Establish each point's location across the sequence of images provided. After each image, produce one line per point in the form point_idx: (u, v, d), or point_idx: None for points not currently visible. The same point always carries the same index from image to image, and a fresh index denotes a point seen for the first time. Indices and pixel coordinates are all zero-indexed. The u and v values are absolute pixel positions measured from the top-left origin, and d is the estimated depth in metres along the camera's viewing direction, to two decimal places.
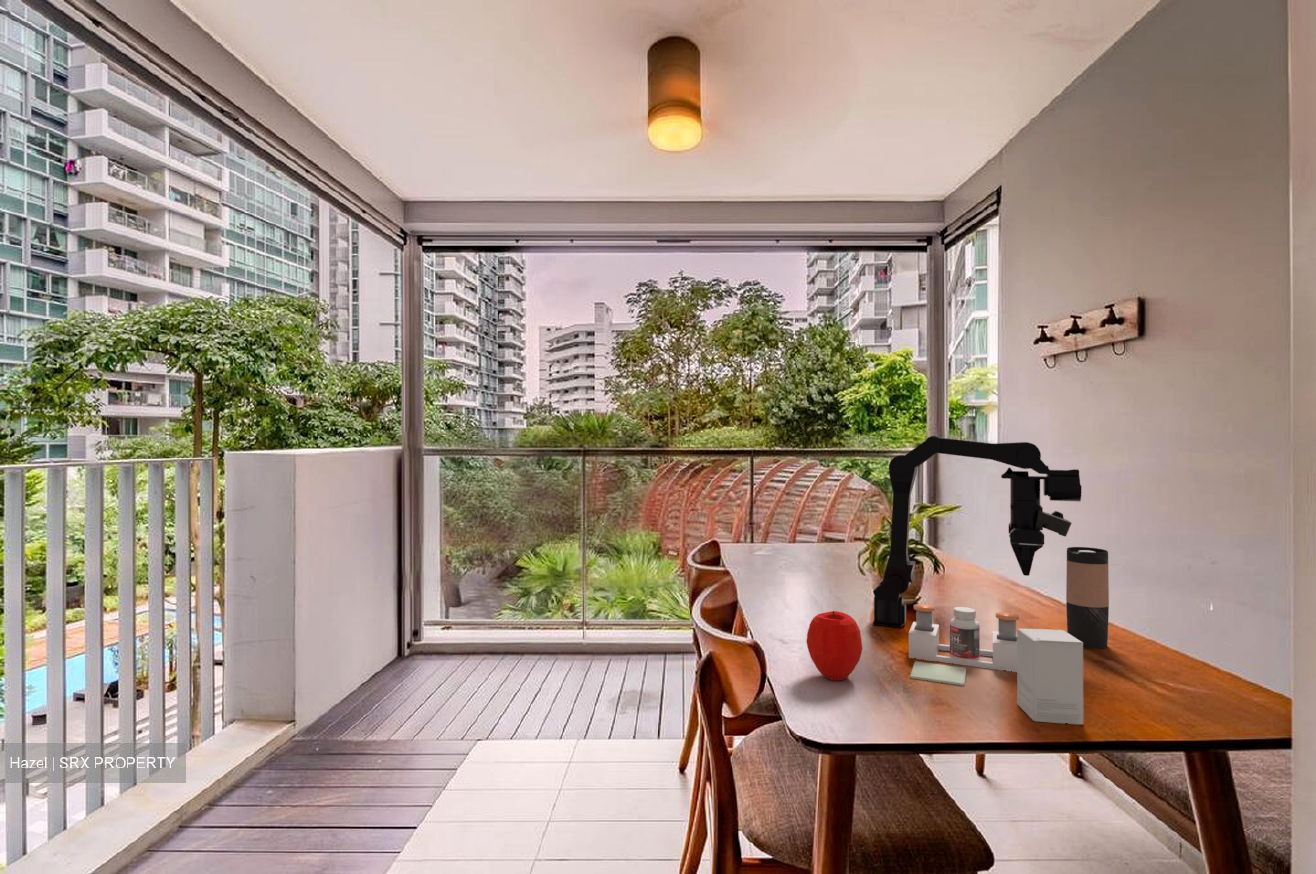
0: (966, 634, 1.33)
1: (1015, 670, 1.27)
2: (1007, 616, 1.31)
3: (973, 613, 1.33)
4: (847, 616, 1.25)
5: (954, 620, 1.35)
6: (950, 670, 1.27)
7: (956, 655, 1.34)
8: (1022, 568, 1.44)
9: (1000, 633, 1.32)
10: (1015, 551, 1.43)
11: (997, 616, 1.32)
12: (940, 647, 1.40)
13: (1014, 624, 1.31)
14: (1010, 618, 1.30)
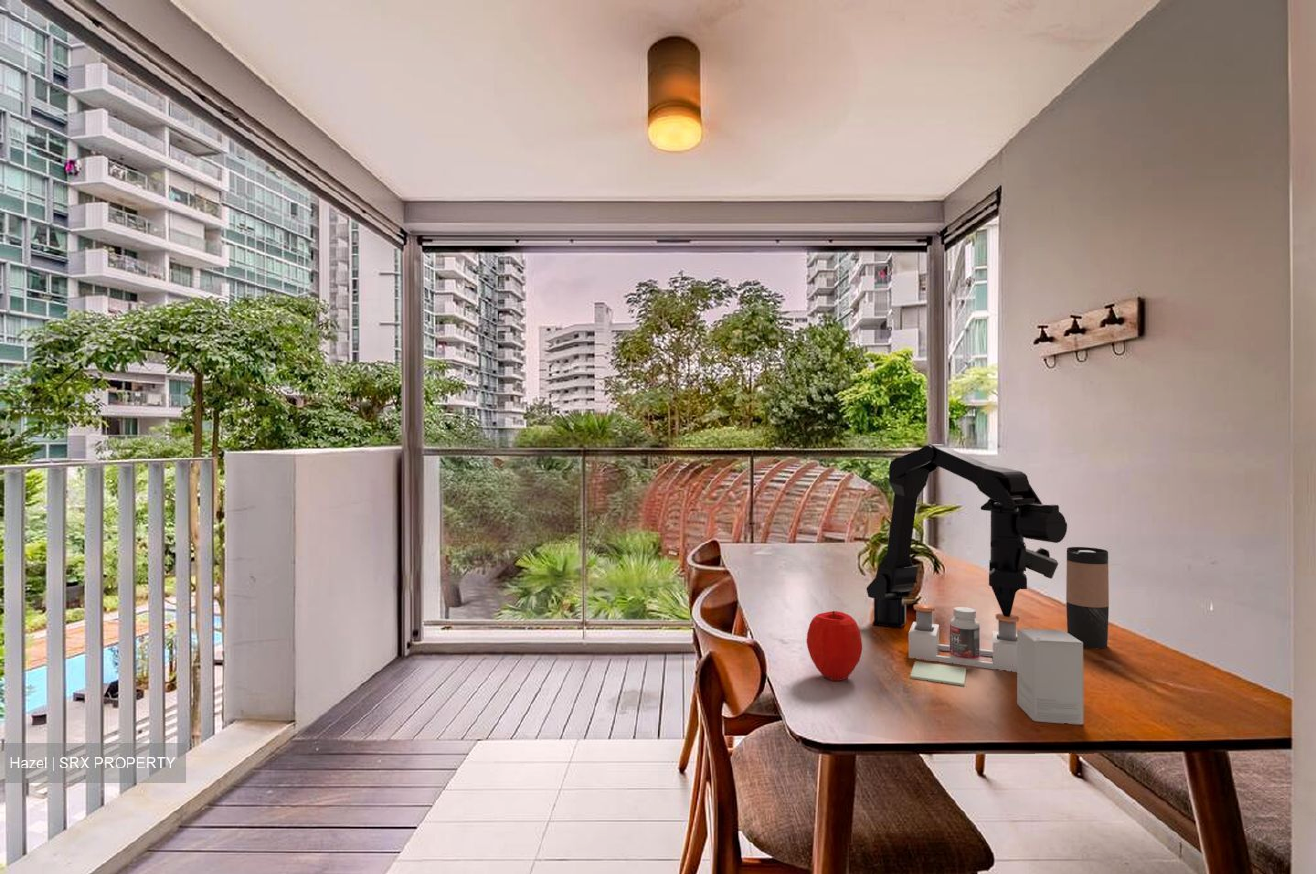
0: (966, 634, 1.33)
1: (1015, 670, 1.27)
2: (1007, 618, 1.31)
3: (973, 613, 1.33)
4: (847, 616, 1.25)
5: (954, 620, 1.35)
6: (950, 670, 1.27)
7: (956, 655, 1.34)
8: (1002, 609, 1.31)
9: (1000, 635, 1.32)
10: (995, 590, 1.31)
11: (997, 618, 1.32)
12: (940, 647, 1.40)
13: (1014, 626, 1.31)
14: (1010, 620, 1.30)
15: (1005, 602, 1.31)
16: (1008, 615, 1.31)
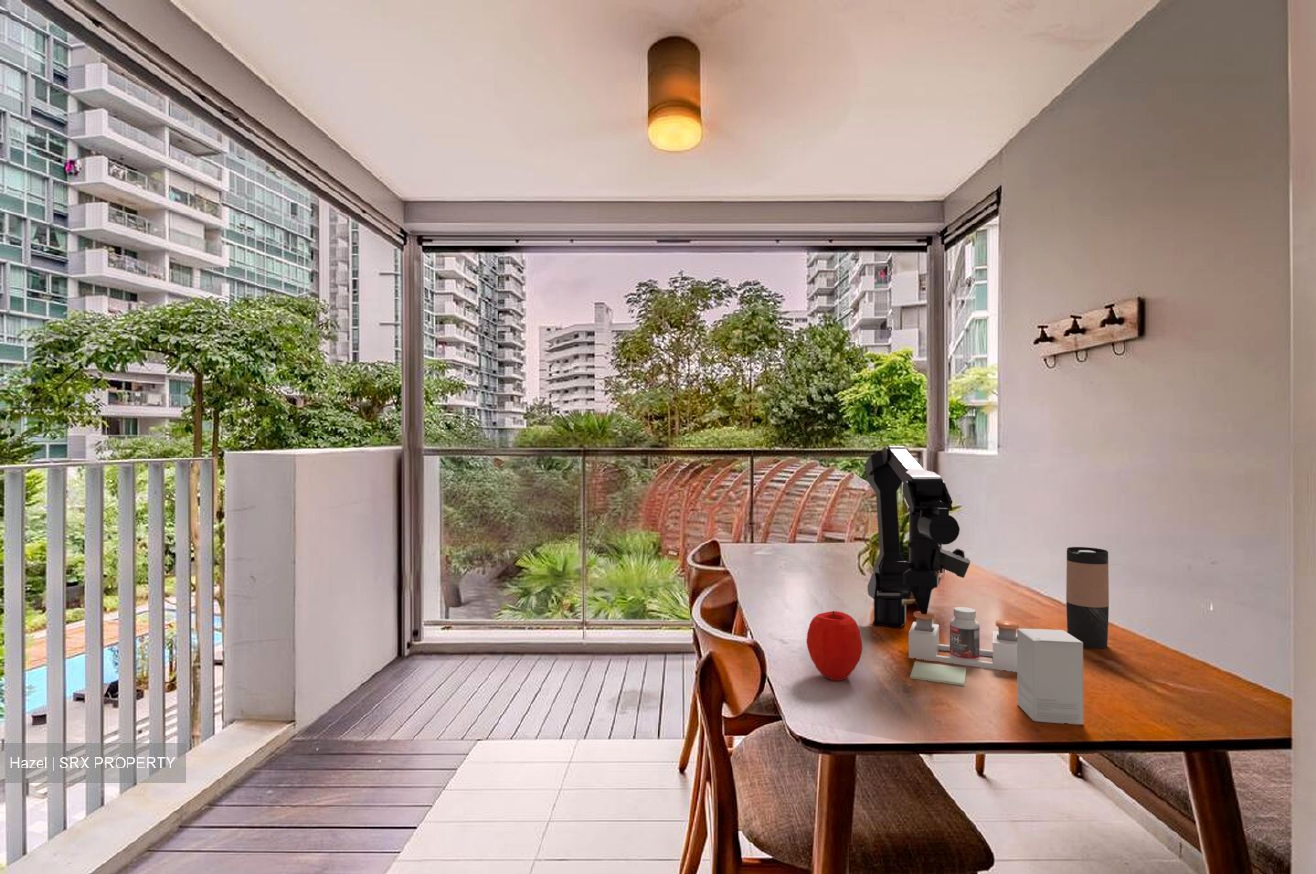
0: (966, 634, 1.33)
1: (1015, 670, 1.27)
2: (1007, 625, 1.31)
3: (973, 613, 1.33)
4: (847, 616, 1.25)
5: (954, 620, 1.35)
6: (950, 670, 1.27)
7: (956, 655, 1.34)
8: (919, 606, 1.38)
9: None
10: (912, 589, 1.38)
11: (997, 624, 1.32)
12: (940, 647, 1.40)
13: (1014, 633, 1.31)
14: (1010, 627, 1.30)
15: (922, 600, 1.38)
16: (925, 612, 1.38)
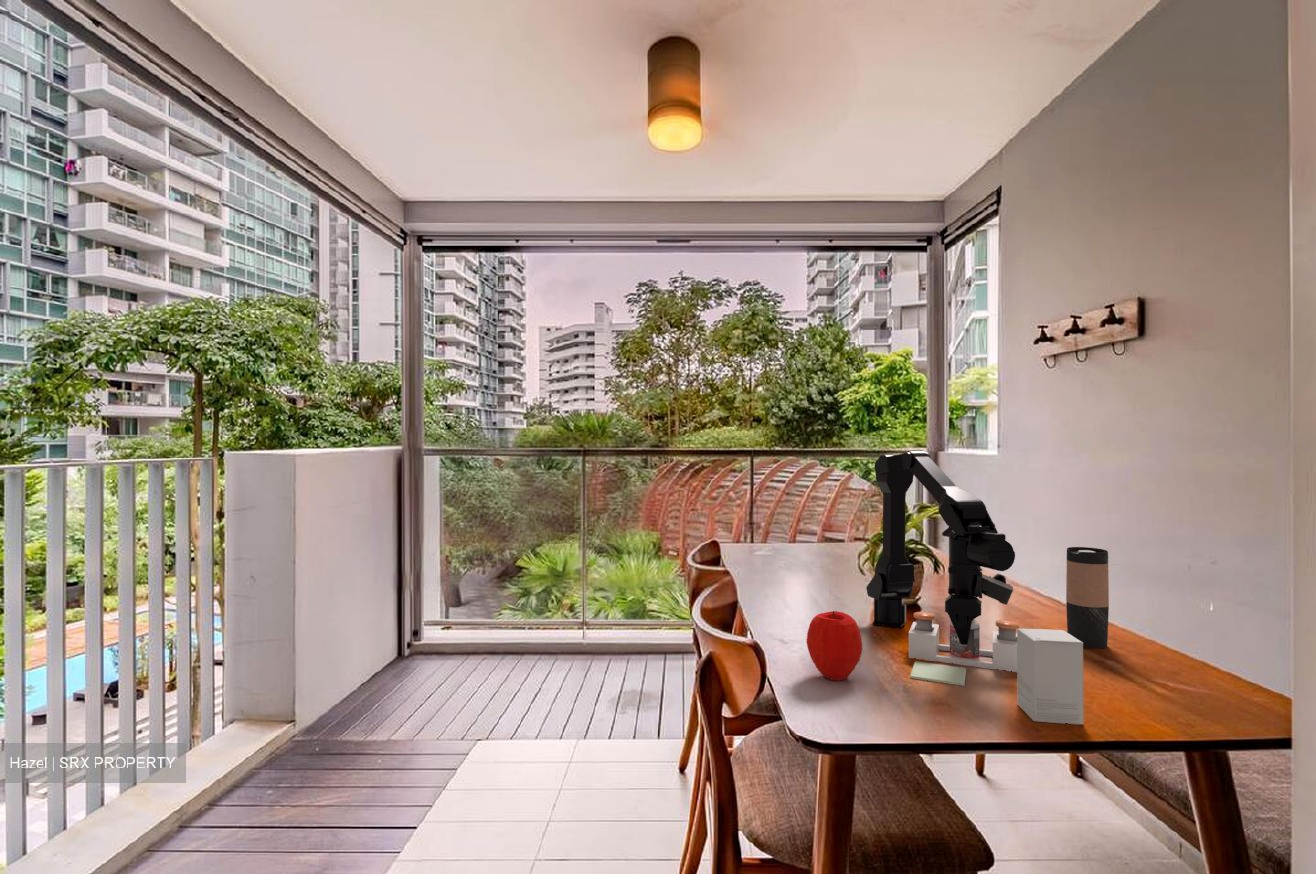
0: None
1: (1015, 670, 1.27)
2: (1007, 625, 1.31)
3: None
4: (847, 616, 1.25)
5: None
6: (950, 670, 1.27)
7: (956, 655, 1.34)
8: (959, 637, 1.32)
9: None
10: (952, 618, 1.32)
11: (997, 624, 1.32)
12: (940, 647, 1.40)
13: (1014, 633, 1.31)
14: (1010, 627, 1.30)
15: (962, 630, 1.32)
16: (965, 643, 1.32)
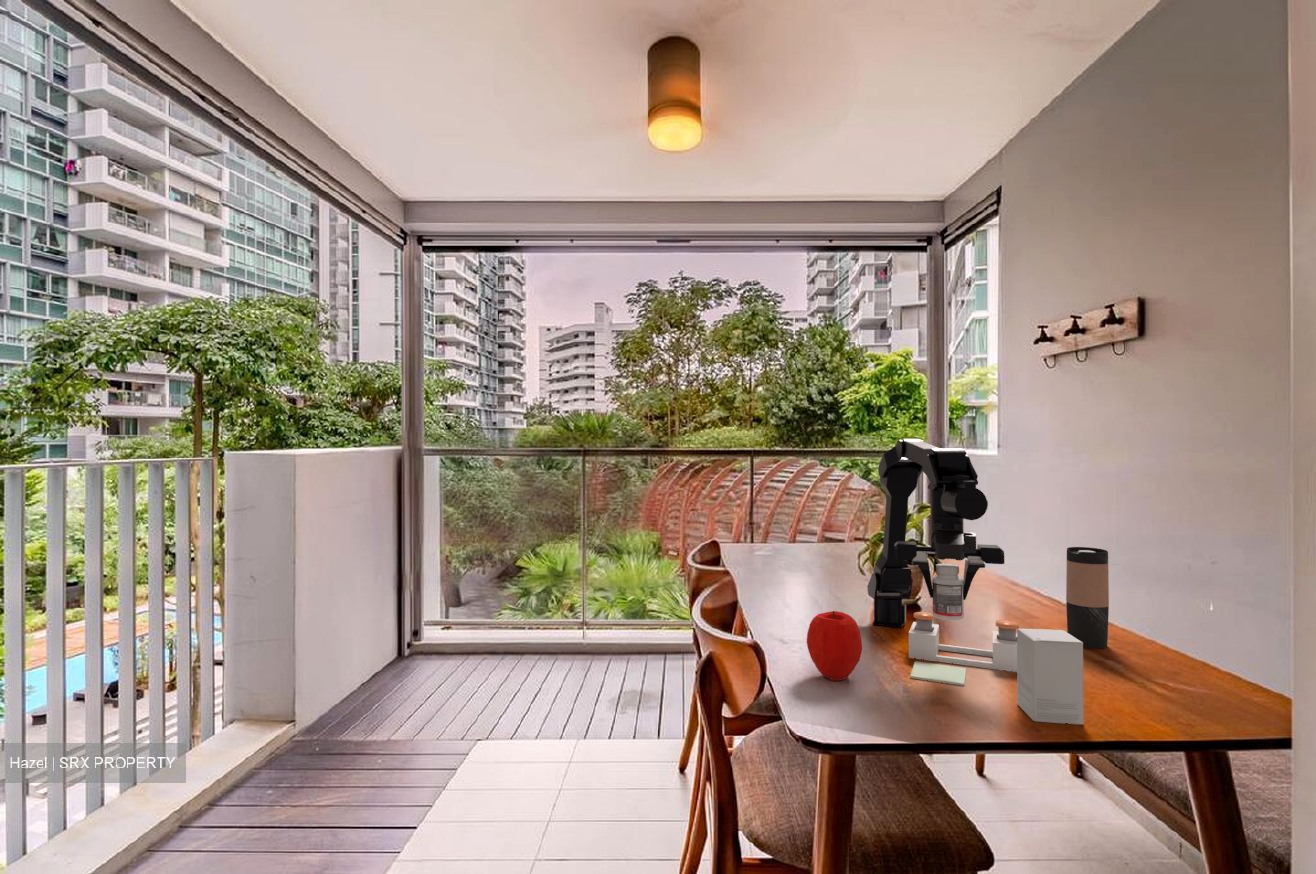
0: None
1: (1015, 670, 1.27)
2: (1007, 625, 1.31)
3: (941, 568, 1.27)
4: (847, 616, 1.25)
5: None
6: (950, 670, 1.27)
7: None
8: None
9: None
10: None
11: (997, 624, 1.32)
12: (940, 647, 1.40)
13: (1014, 633, 1.31)
14: (1010, 627, 1.30)
15: None
16: None
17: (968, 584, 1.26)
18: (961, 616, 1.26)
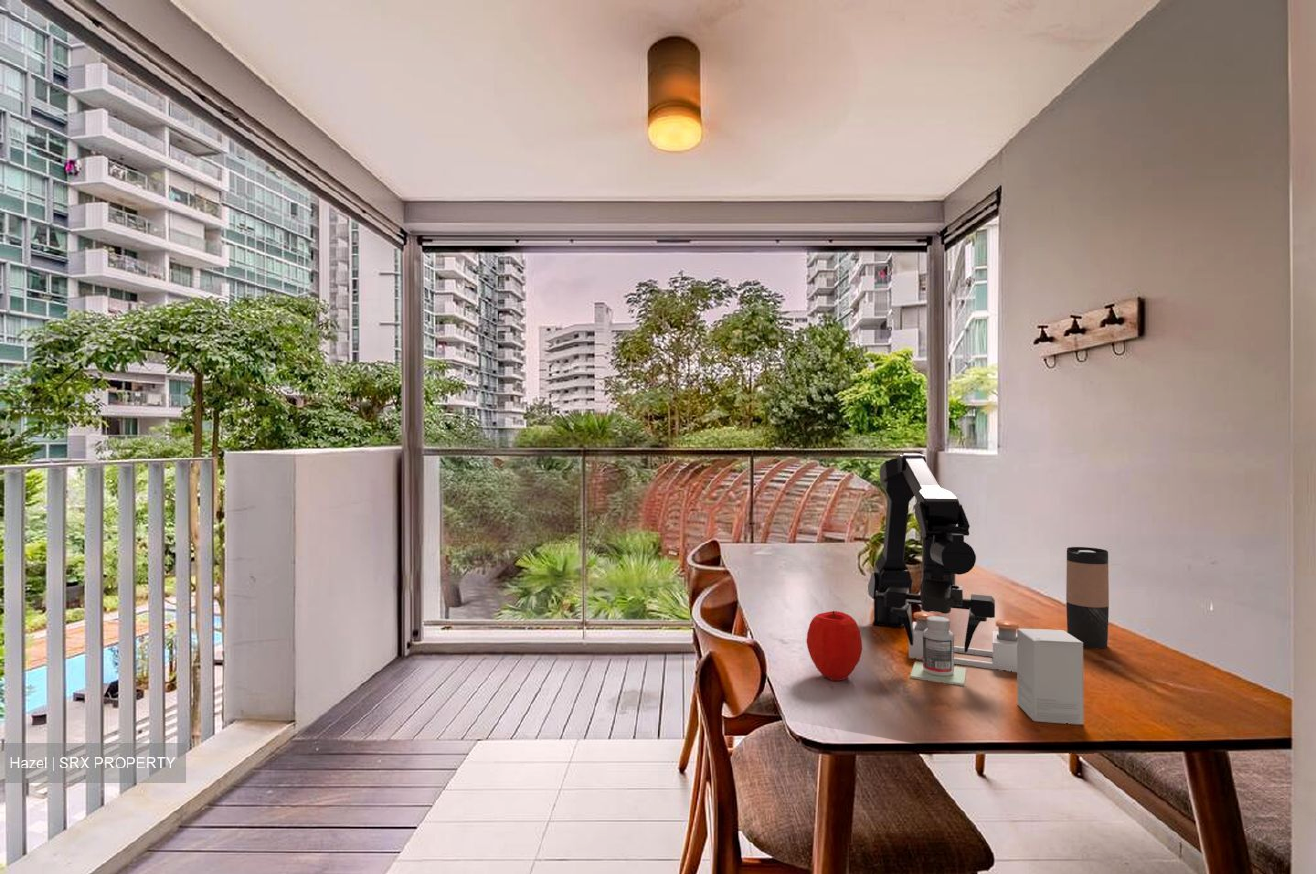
0: None
1: (1015, 670, 1.27)
2: (1007, 625, 1.31)
3: (931, 622, 1.25)
4: (847, 616, 1.25)
5: None
6: None
7: None
8: None
9: None
10: None
11: (997, 624, 1.32)
12: None
13: (1014, 633, 1.31)
14: (1010, 627, 1.30)
15: None
16: None
17: (969, 637, 1.23)
18: (950, 672, 1.24)
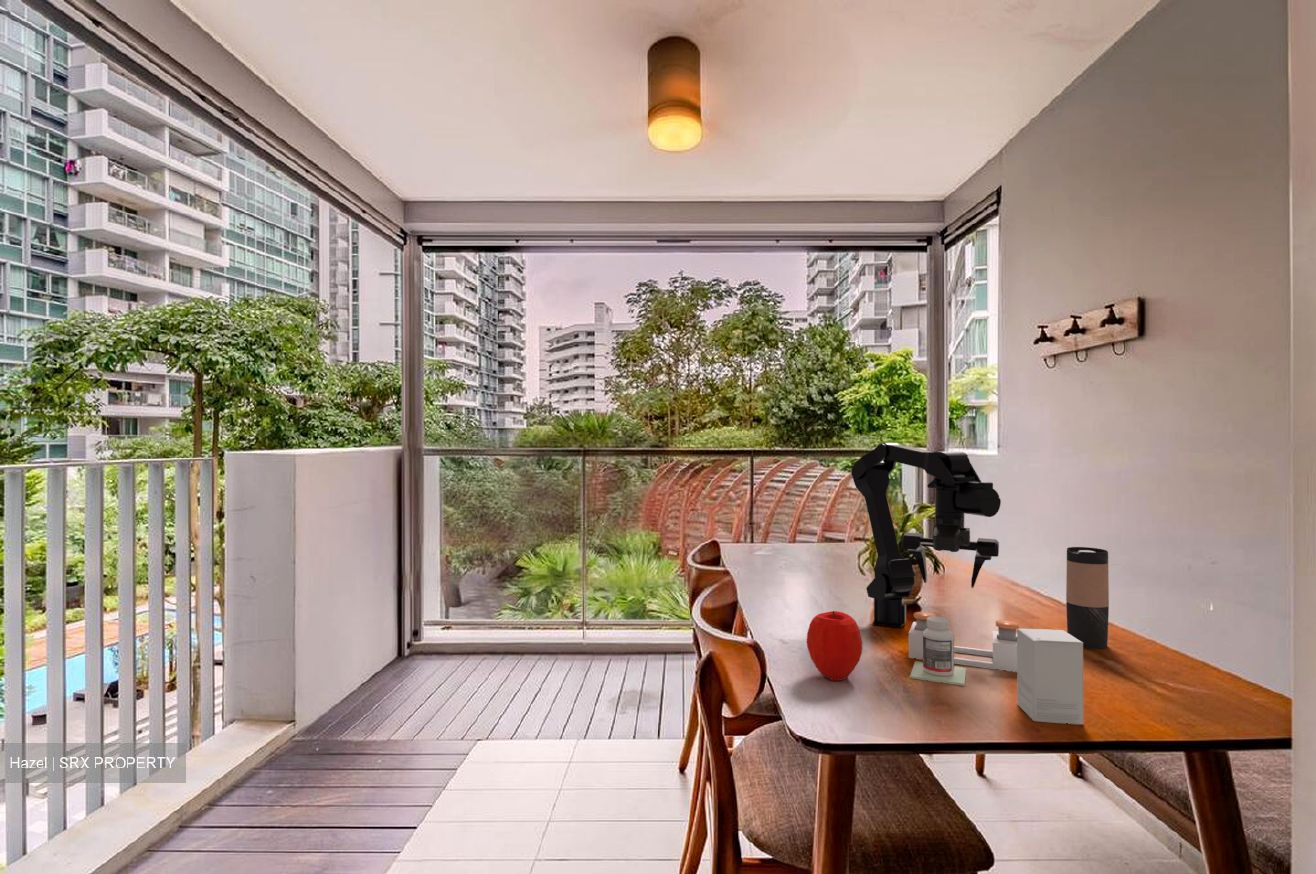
0: (923, 640, 1.27)
1: (1015, 670, 1.27)
2: (1007, 625, 1.31)
3: (931, 622, 1.25)
4: (847, 616, 1.25)
5: None
6: None
7: None
8: None
9: None
10: None
11: (997, 624, 1.32)
12: None
13: (1014, 633, 1.31)
14: (1010, 627, 1.30)
15: None
16: None
17: (976, 574, 1.40)
18: (950, 672, 1.24)
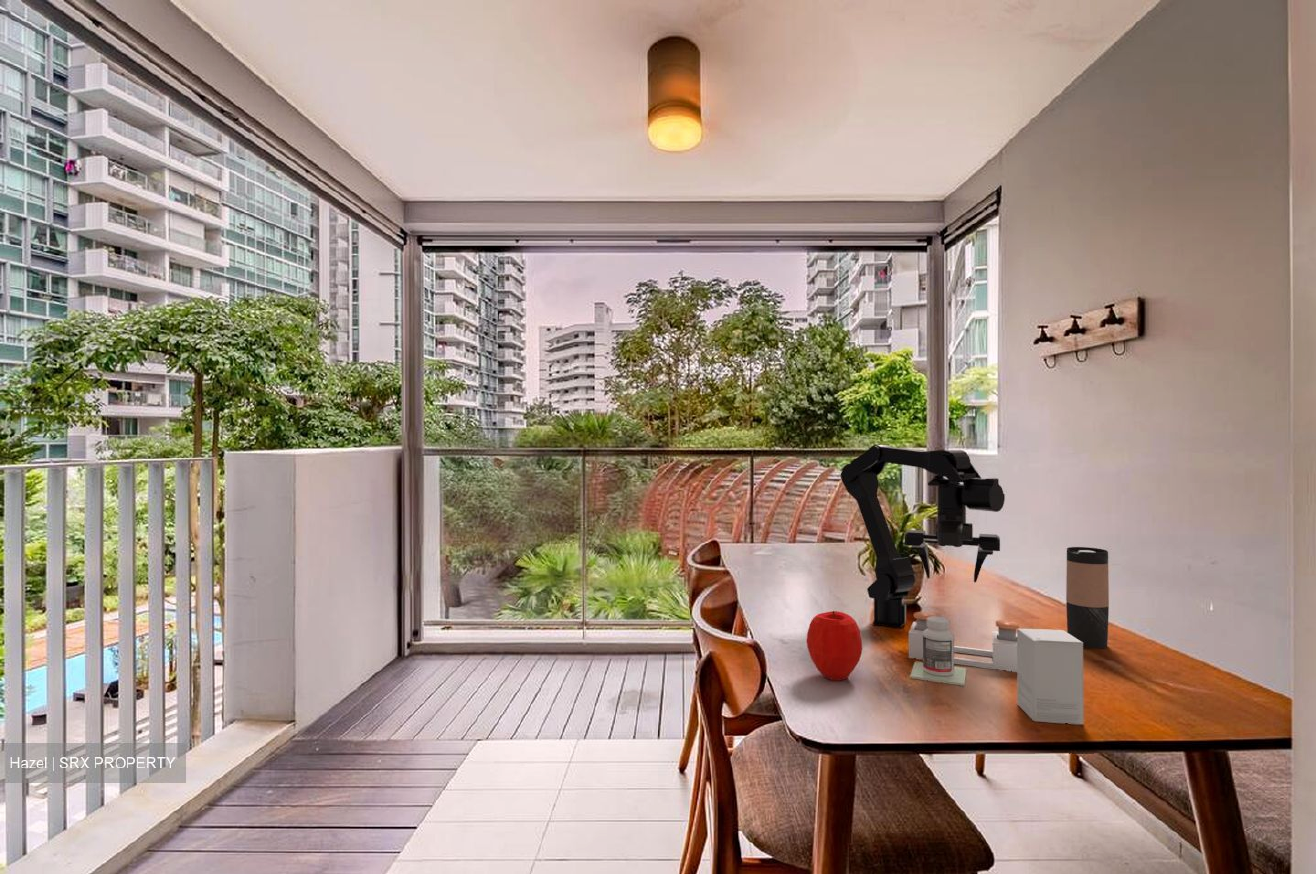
0: None
1: (1015, 670, 1.27)
2: (1007, 625, 1.31)
3: (931, 622, 1.25)
4: (847, 616, 1.25)
5: None
6: None
7: None
8: None
9: None
10: None
11: (997, 624, 1.32)
12: None
13: (1014, 633, 1.31)
14: (1010, 627, 1.30)
15: None
16: (927, 576, 1.49)
17: (978, 569, 1.44)
18: (950, 672, 1.24)
